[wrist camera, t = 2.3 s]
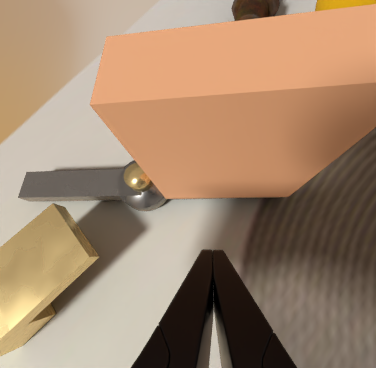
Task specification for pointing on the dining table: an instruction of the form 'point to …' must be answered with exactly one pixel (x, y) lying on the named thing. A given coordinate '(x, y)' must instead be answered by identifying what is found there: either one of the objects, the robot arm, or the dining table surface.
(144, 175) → the pintle
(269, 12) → the bolt
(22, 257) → the keeper
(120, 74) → the peach block with bar
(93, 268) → the dining table surface
